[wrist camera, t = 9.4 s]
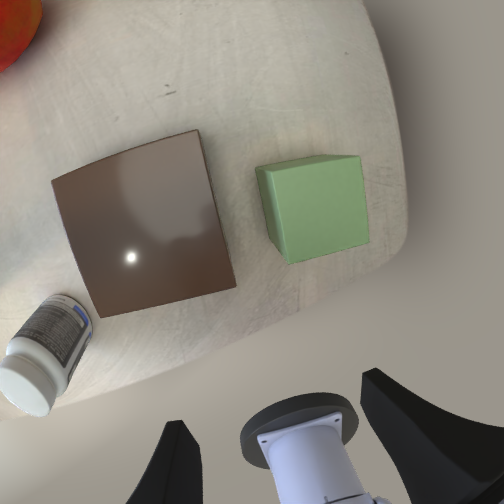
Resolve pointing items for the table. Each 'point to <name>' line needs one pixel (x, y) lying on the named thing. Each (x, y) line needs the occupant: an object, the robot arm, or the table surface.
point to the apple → (17, 28)
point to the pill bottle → (45, 355)
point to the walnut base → (146, 226)
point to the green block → (314, 205)
